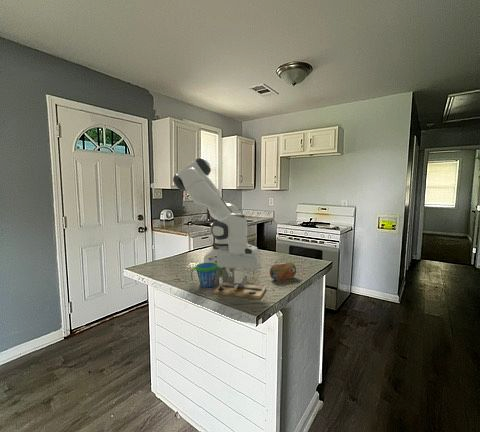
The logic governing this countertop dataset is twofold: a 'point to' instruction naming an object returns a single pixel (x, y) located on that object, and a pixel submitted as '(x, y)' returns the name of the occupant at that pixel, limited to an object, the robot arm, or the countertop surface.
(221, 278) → the fixed leg
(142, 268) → the countertop surface
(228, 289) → the board
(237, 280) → the sliding pointer
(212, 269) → the snack cup
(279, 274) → the tin
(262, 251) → the countertop surface
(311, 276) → the countertop surface
